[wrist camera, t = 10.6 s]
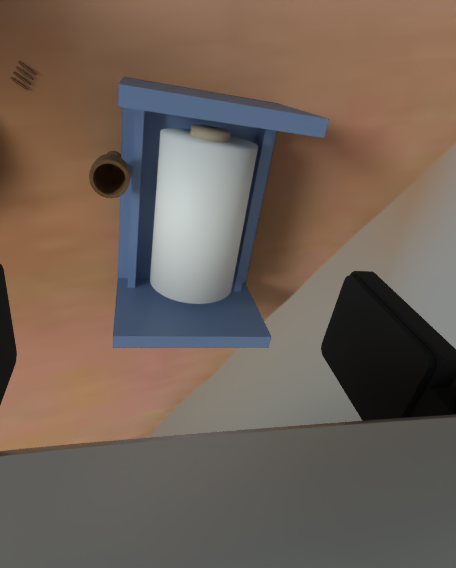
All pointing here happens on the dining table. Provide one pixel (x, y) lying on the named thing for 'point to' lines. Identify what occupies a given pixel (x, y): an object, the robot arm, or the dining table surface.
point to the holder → (141, 210)
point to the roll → (199, 212)
